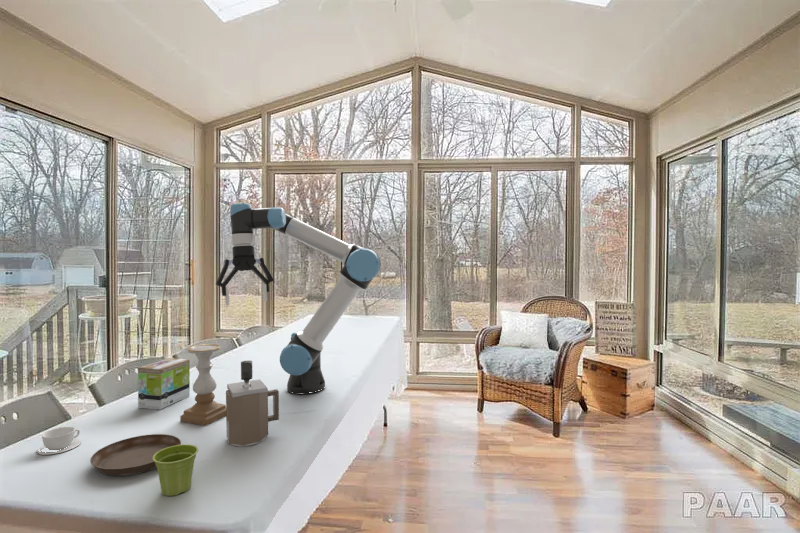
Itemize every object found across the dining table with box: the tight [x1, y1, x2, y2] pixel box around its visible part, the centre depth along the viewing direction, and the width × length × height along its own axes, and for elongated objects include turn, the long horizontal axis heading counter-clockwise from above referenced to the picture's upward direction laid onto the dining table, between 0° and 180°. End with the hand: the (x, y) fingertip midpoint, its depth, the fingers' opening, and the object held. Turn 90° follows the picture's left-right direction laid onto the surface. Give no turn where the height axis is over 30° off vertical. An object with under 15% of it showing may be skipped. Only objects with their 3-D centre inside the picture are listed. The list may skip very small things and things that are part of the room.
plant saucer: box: [89, 433, 182, 477], centre depth 115 cm, size 21×21×3 cm
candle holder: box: [179, 343, 226, 426], centre depth 144 cm, size 11×11×24 cm
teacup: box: [36, 426, 82, 456], centre depth 122 cm, size 10×10×5 cm
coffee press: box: [225, 378, 280, 447], centre depth 129 cm, size 15×11×16 cm
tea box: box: [137, 357, 191, 411], centre depth 159 cm, size 15×10×15 cm, turn 168°
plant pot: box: [153, 443, 199, 497], centre depth 101 cm, size 9×9×9 cm
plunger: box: [240, 360, 253, 396], centre depth 128 cm, size 9×9×22 cm
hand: (246, 302), depth 159 cm, fingers open, 13 cm apart
